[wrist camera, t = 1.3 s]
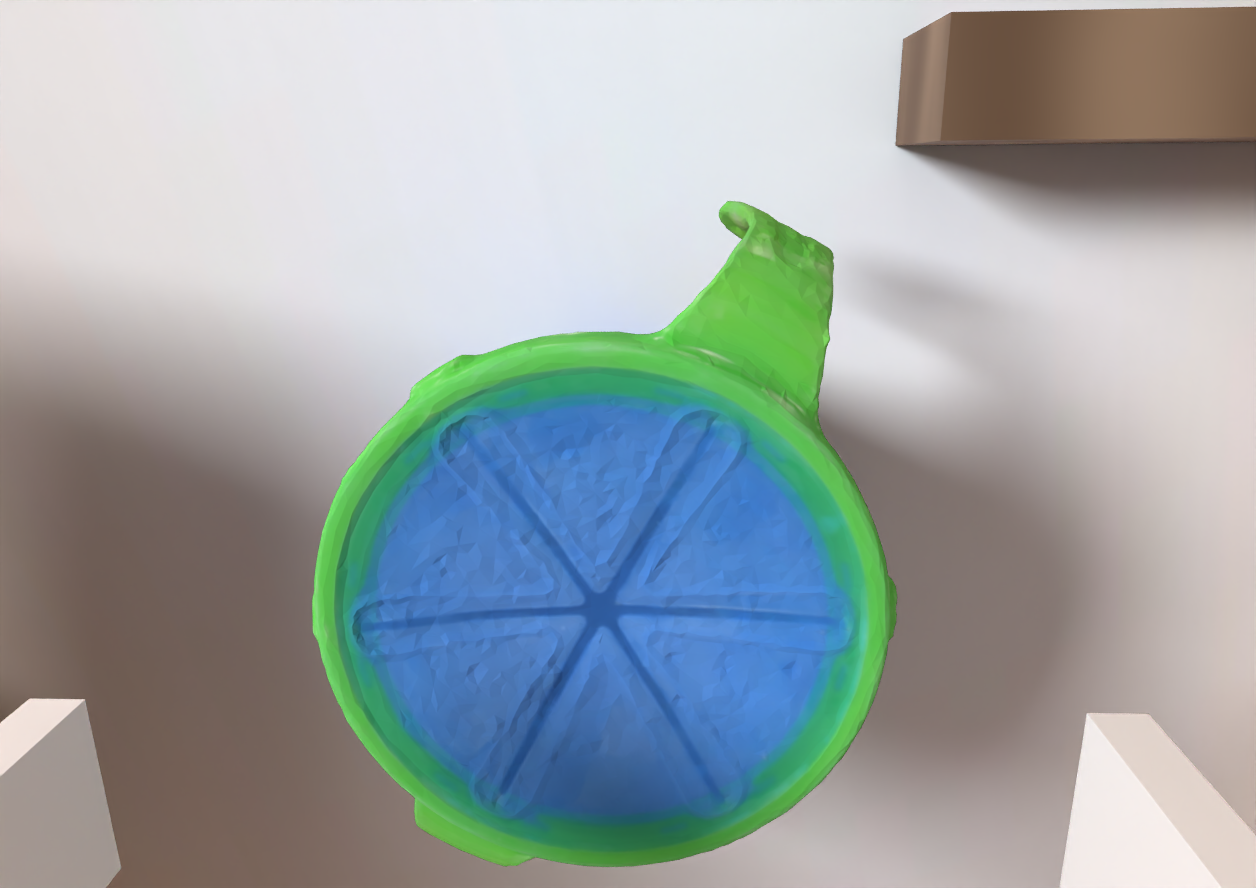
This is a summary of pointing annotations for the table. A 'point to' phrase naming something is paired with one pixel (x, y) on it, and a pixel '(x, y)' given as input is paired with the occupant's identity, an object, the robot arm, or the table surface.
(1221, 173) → the table surface
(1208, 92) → the bracket
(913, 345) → the table surface
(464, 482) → the snack cup
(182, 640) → the table surface
